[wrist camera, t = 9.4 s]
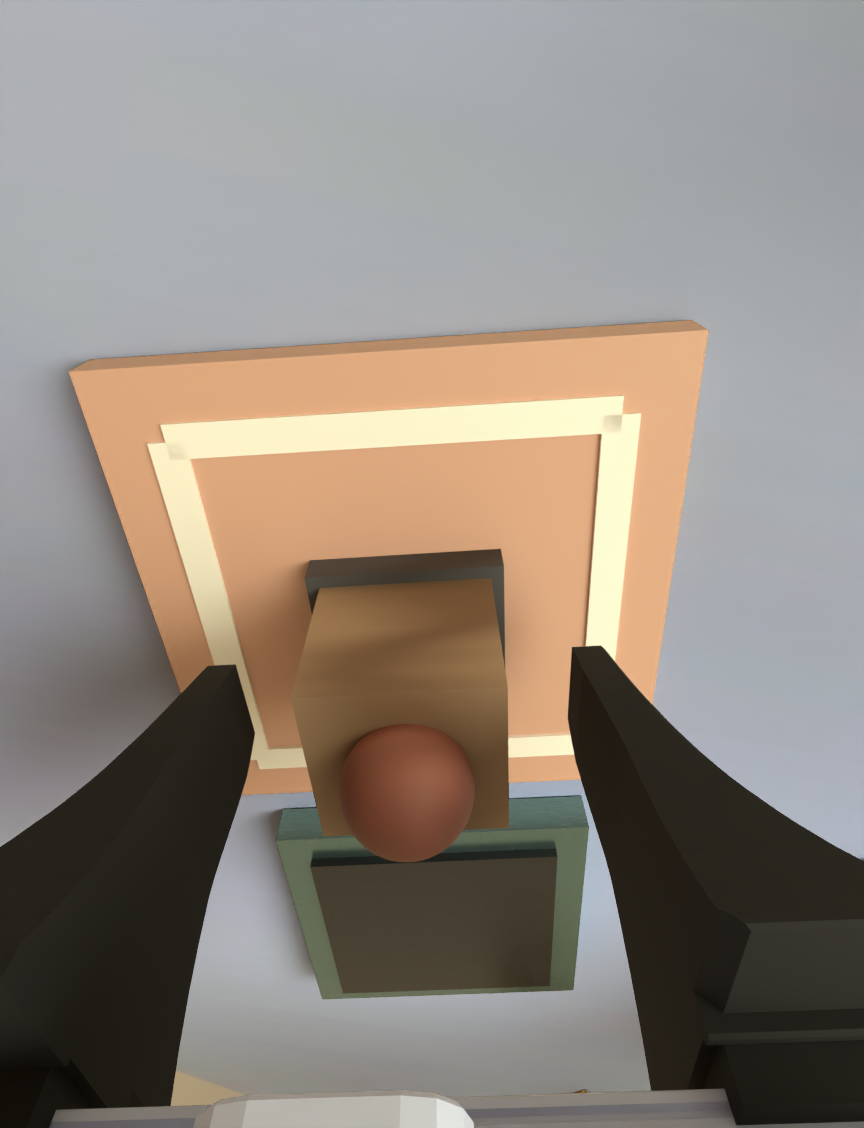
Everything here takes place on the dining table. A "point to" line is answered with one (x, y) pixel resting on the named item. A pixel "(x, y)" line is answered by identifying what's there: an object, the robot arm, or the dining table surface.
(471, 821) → the walnut stamp
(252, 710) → the marked board
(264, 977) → the dining table surface
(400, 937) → the ink pad
